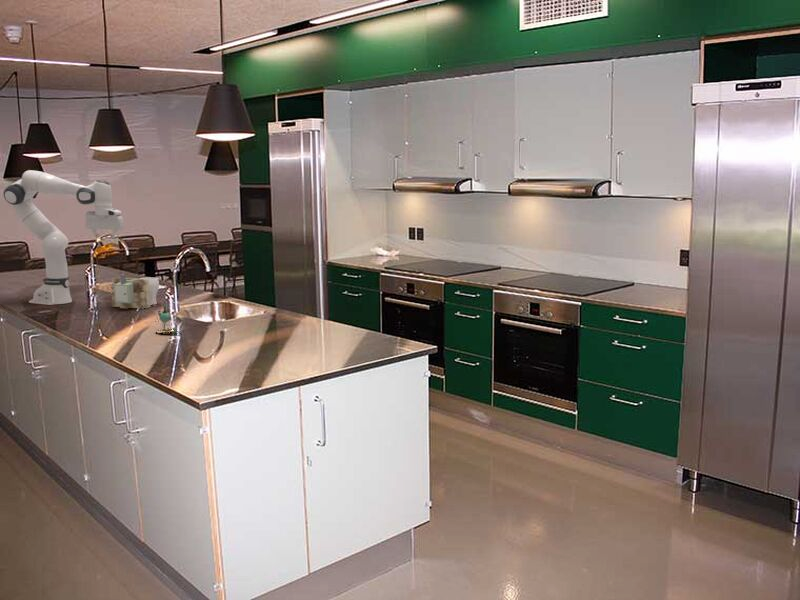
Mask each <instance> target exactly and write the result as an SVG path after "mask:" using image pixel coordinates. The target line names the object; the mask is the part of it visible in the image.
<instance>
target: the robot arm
mask: <svg viewBox="0 0 800 600" xmlns="http://www.w3.org/2000/svg"><path fill="white" fill-rule="evenodd" d="M39 193H41V194H44V195H55V196H56V195H74V196H76V200H77V201H78V203H80V205H81V204H82V205H84V206H91V205H94V211H91V210H88V211H87V212H86V213H85V222H84V223H85V228H86V229H91V231H92V233H93V234H94V238H99V236H100V235H99V233H98V232H97V230H112V234H111V235H110V238H111V239H115V238H116V234H117V232H118V231H121V230H123V229H124V228H125V227H124V226H125V225H124V217H123V216H122V214H123V212H122V210H119V209H116V208H115V207H114V206H113V201H112V200H113V191H112V186H111V183H110V182H108V181H104V180H95V181H93V182H92V183H91V184H88V185H84V184H80V183H77V182H72V181H69V180H66V179H64V178H61V177H58V176H56V175H53V174H50V173H47V172H44V171H39V170H33V169H32V170H31V169H28V170H26V171H24V172H23V173H22V175H21V179H17V180H16V181H15V182H13V183H11V184H10V185H8V186H7V187H6V188H5V189H4V190H3V197H4V199H5V201H6V202H7V203H8V204H9V205H11V210H12V211H13V212H14V214H15V215H16V217H17V218H18V219H19V220H20V221H21V223H22V224H23V225H24V226H25V227H26V228H27V229H28V230H29V231H30V232H31V233H32V235H34V236H36V237H37V238H38V239H40V240H41V241H42V243H41V246H42V250H43V251H42V252H43V257H44V262H45V276H46V277H44V278H42V279H41V281H42V282H43V284H42V285H40V286H39V287H38V288H37V289H36V290H34V292H33V297H32V299H29V300H28V303H30V304H37V305H47V306H48V305H49V306H51V305H52V306H53V305H63V304H69V303H72V302H73V299H72V296H71V291H70V278H69V272H68V271H69V270H68V267H69V266H68V262H67V256H66V251H65V250H66V249H67V248H68V246H69V239H68V237H67V235H66V234H65V233H63V232H62V231H61V230H60V229H59V228H58V227H57V226H56V225H55V224H53V223H52V222H51V221H50V220H49V218H47V217H46V215H44V214H43V212H42V211H41V210H40V209H39V208H38V207H37V206H36V205H35V204H34V202H33V199H36V198H37V196H38V194H39ZM113 207H114V208H113Z"/></svg>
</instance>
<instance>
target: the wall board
mask: <svg viewBox="0 0 800 600" xmlns="http://www.w3.org/2000/svg"><path fill="white" fill-rule="evenodd" d="M111 279H112V280H111V281H112V291H111V300H112V303H111V305H112V308H113V307H120V308H119V309H128V308H145V307H149V306H151V305H149V284H148V279H140V278H130V277H129V278H128V277H126V280H135V283H133V287H134V301H133V302H131V303H116V302H115V294H114V284H116V283H119V280H121V277H112V278H111ZM151 307H152V306H151Z"/></svg>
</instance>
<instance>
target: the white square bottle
mask: <svg viewBox="0 0 800 600" xmlns="http://www.w3.org/2000/svg"><path fill="white" fill-rule="evenodd" d="M119 275H120V278H121V280H119V283H116V284H114V294H115V302H116V303H131V302H133V301H134V287H133V283H135V280H126V278H127V274H126V273H122V274H119Z"/></svg>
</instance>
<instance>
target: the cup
mask: <svg viewBox="0 0 800 600" xmlns="http://www.w3.org/2000/svg"><path fill="white" fill-rule="evenodd" d="M139 279H148V284H149V305H152V304H157V294H158V292H159V288H160V281H159V278H158V277H151V276H149V277H147V276H146V277H140V278H139ZM157 305H158V304H157Z"/></svg>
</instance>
